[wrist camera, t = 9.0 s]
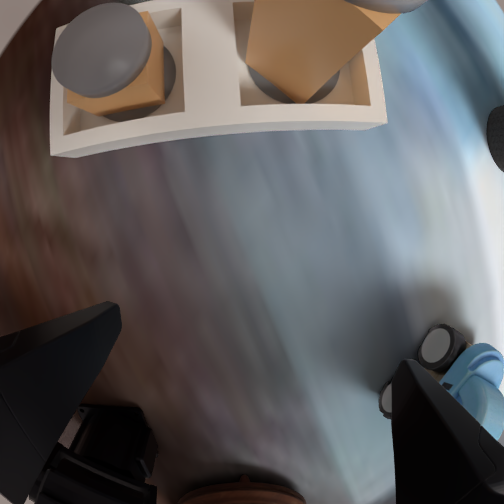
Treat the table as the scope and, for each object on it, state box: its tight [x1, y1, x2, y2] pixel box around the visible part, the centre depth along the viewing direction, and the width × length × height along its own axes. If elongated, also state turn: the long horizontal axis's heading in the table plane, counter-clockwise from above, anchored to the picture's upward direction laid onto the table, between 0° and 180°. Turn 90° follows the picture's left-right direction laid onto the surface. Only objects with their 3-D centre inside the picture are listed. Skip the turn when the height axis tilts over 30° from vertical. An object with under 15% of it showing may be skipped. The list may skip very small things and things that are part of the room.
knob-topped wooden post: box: [245, 0, 427, 104], centre depth 11 cm, size 5×5×13 cm
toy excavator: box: [379, 324, 504, 440], centre depth 17 cm, size 9×17×17 cm, turn 148°
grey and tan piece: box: [52, 3, 165, 116], centre depth 14 cm, size 5×5×6 cm
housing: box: [50, 0, 387, 158], centre depth 16 cm, size 20×9×4 cm, turn 95°
